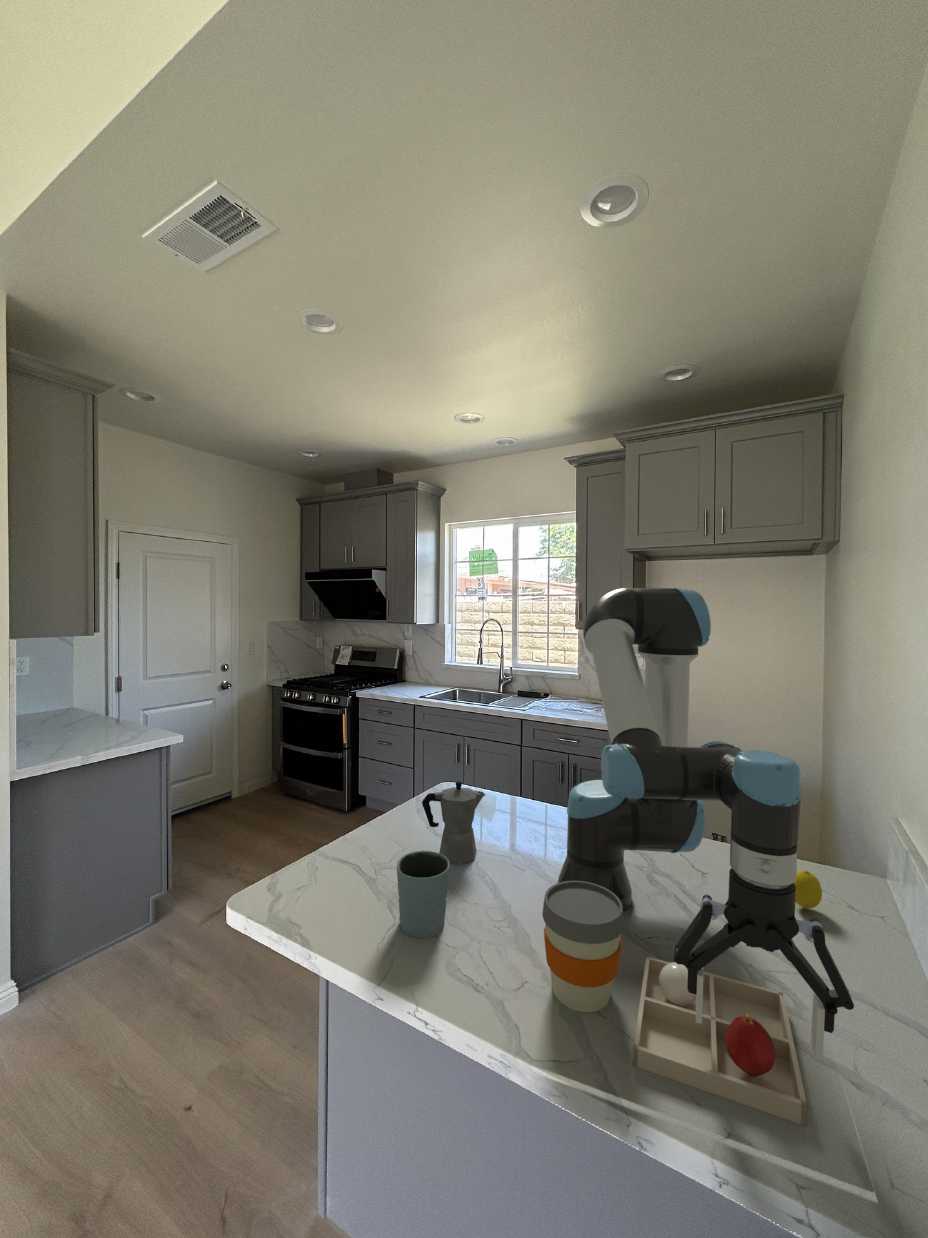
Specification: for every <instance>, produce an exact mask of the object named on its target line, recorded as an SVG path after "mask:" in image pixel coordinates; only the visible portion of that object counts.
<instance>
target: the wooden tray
mask: <svg viewBox="0 0 928 1238" xmlns="http://www.w3.org/2000/svg"><path fill="white" fill-rule="evenodd" d="M644 963H645V964H644V970H643V978H642V984H641V991H640V997H639V998H640V999H639V1005H638V1012H637V1019H636V1026H635V1033H634V1041H633V1046H632V1049H633V1050H632V1067H634V1068H638V1069H641V1070H643V1071H646V1072H650V1073H652V1074H655V1075H658V1076H661V1077H662V1078H666V1079H669V1080H672V1081H675V1082H677V1083H681V1084H683V1085H685V1086H690V1087H691V1088H692V1087H693V1088H695V1089H697V1090H700V1091H704V1092H706V1093H710V1094H711V1095H715V1096H717V1097H719V1098H720V1097H721V1098H723V1099H726V1100H729V1101H732V1102H736V1103H738V1104H739V1105H740V1104H741V1105H743V1106H747V1107H748V1108H749V1107H750V1108H752V1109H755V1110H758V1111H760V1112H763V1113H767V1114H769V1115H772V1116H775V1117H778V1118H781V1119H784V1120H787V1121H789V1122H792V1123H794V1124H799V1125H801V1126H804V1127H807V1123H808V1122H807V1120H808V1118H807V1117H808V1103H807V1098H806V1094H805V1089H804V1085H803V1079H802V1075H801V1070H800V1065H799V1061H798V1057H797V1052H796V1047H795V1043H794V1038H793V1032H792V1029H791V1028H792V1027H791V1024H790V1019H789V1014H788V1010H787V1006H786V1005H787V1004H786V1000H785V996H784V992H781V991H778V990H774V989H771V988H766V987H763V986H759V985H755V984H752V983H748V982H745V981H744V982H743V981H740V980H737V979H734V978H729V977H726V976H721V975H719V974H714V973H712V972H707V971H704V970H703V1005H702V1024H700V1023H696V999H695V1000H694V1001H693V1002H692V1003H691V1004H690V1005H687V1006H678V1005H675V1004H673V1003H671V1002H670V1001H669V1000H668V999H667V998H666V997H665V996H664V994H663V993H662V991H661V988H660V985H659V975H660V972H661V970H662V968H663V967H664V966H665V965H667V964H669V963H671V962H670V961H666V960H662V959H658V958H656V957H655V958H654V957H651V956H647V955H646V957H645V962H644ZM746 1014H748V1015H751V1016H752V1018H753V1019H754V1020H756V1021H757V1022H758V1023H760V1024H761V1025H762V1026H763V1027H764V1029H765V1030H766V1031H767V1032H768V1034H769V1035H770V1037H771V1039H772V1042H773V1045H774V1048H775V1053H776V1058H775V1063H774V1065H773V1067H772V1069H771V1070H770V1071H769V1072H767V1073H765V1074H763V1075H761V1076H757V1077H751V1076H750V1075H748V1074H747V1073H745V1072H744V1071H742V1070H741V1069H740V1068H739V1067H737V1066H736V1065H735V1063H734V1062H733V1060H732V1059H731V1057H730V1056H729V1054H728V1051H727V1047H726V1043H725V1035H726V1031H727V1028H728V1026H729V1025H730V1024H731V1023H732V1022H733V1020H734V1019H735V1018H737V1017H741V1016H745V1015H746Z"/></svg>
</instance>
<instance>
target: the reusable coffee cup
mask: <svg viewBox="0 0 928 1238" xmlns="http://www.w3.org/2000/svg"><path fill="white" fill-rule="evenodd" d="M542 918H543V921H544V924H545V925H544V928H543V938H544V950H545V956H546V963H547V966H548V967H549V971H550V979H551V981H550V982H551V989H552V992H553V994H554V996H555V998H556V999H557V1000H558V1001H559V1003H561V1004H562V1005H564V1006H565V1007H567V1008H568V1009H571V1010H574V1011H577V1012H582V1013H592V1012H593V1013H594V1012H597V1011H601V1010H602V1009H603V1008H606V1006H607V1005H608V1004H609V1001H610V1000H611V995H612V994H611V993H612V987H613V983H614V979H615V978H616V976H617V974H618V971H619V970H618V969H619V963H620V957H621V951H622V946H623V945H622V939H621V934H622V933H623V931H624V929H625V923H624V920H625V919H624V912H623V907H622V903H621V901H620V899H619V898H618V897H617V896H616V895H615V894H614V893H613V892H611V891H610V890H608V889H606V888H604V887H602V886H600V885H597V884H594V883H590V882H585V881H565V882H560V883H558V882H557V883H555V884H552V885H551V886H549V887H548V888H547V890H546V891H545V893H544V899H543V905H542Z"/></svg>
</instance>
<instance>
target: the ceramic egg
mask: <svg viewBox="0 0 928 1238" xmlns="http://www.w3.org/2000/svg"><path fill="white" fill-rule="evenodd" d="M687 983H688V970H687V968H686V967H685V966H684V965H682V964H677V963H676V962H675V961H674V962H670V963H669V964H667V965H665V966H664V967H663V968H662V970H661V972H660V975H659V985H660V988H661V991H662V993H663V994H664V996H665V997H666V998H667V999H668V1000H669V1001H670V1002H671V1003H673V1004H675V1005H678V1006H687V1005H690V1004H691V1003H692V1002H693V1001H694V1000H695V999H696V994H692V993H689V992H688V989H687Z"/></svg>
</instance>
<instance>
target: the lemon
mask: <svg viewBox="0 0 928 1238" xmlns="http://www.w3.org/2000/svg"><path fill="white" fill-rule="evenodd" d="M794 884H795V886H796V898H795V904H797V905H798V906H800V907H801V908H802V909H803V910H808V909H814V908H816V907H817V906H819V904H820V903H821V901H822V897H823V891H822V886H821V883H820V881H819V879H818V878H817V876H816V875H814V874H813V873H811V872H809V870H806V869H805V870H800V871H796V881H795V882H794Z"/></svg>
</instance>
